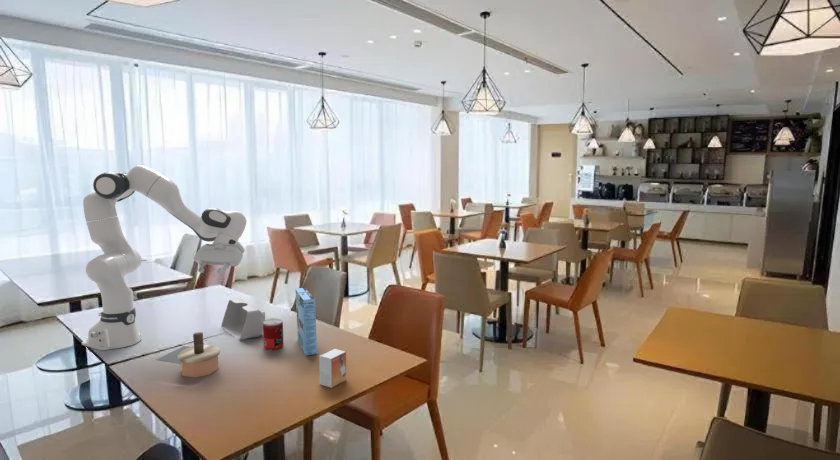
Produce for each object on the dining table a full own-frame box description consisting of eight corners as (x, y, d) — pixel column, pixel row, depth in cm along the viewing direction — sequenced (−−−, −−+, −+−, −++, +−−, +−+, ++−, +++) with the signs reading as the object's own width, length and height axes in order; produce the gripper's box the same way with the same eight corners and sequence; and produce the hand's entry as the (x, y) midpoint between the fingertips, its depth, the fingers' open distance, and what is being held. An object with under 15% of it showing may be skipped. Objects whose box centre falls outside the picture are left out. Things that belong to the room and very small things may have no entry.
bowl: (174, 375, 174) (173, 359, 173) (197, 362, 185) (197, 347, 184) (202, 379, 171) (201, 363, 170) (224, 365, 182) (224, 350, 181)
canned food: (278, 351, 197) (277, 325, 195) (260, 349, 198) (259, 323, 197) (286, 344, 204) (286, 319, 203) (269, 342, 206) (268, 317, 204)
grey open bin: (275, 334, 217) (274, 306, 215) (239, 342, 207) (237, 313, 205) (254, 319, 236) (253, 294, 234) (220, 326, 226) (219, 300, 224)
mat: (155, 360, 186) (155, 359, 186) (183, 346, 201) (183, 345, 200) (187, 365, 182) (187, 364, 182) (214, 350, 197) (214, 349, 197)
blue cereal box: (317, 354, 194) (315, 298, 191) (304, 356, 192) (302, 300, 189) (308, 338, 211) (307, 287, 208) (296, 339, 209) (295, 288, 206)
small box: (331, 388, 164) (330, 359, 163) (319, 384, 167) (318, 355, 166) (347, 379, 171) (346, 351, 170) (335, 376, 174) (334, 348, 173)
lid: (168, 360, 172) (167, 338, 171) (196, 345, 186) (195, 325, 185) (202, 364, 169) (200, 342, 168) (228, 349, 182) (226, 329, 181)
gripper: (199, 239, 205) (184, 266, 197) (241, 241, 200) (227, 269, 192) (207, 248, 210) (192, 275, 202) (248, 250, 205) (235, 278, 197)
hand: (209, 272), depth 197 cm, fingers open, 8 cm apart
